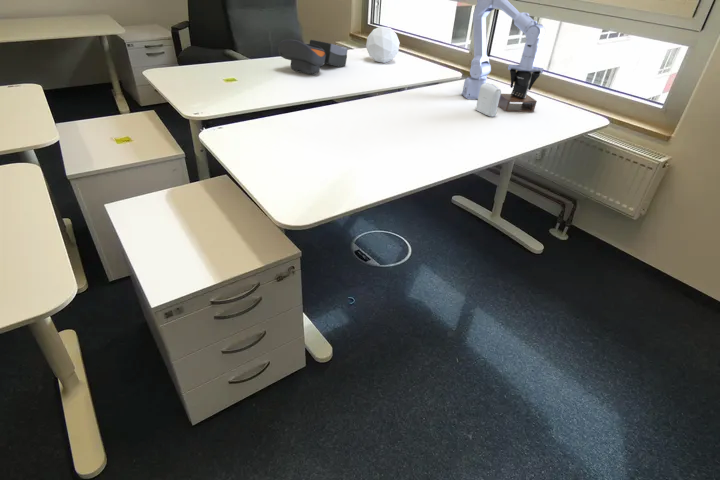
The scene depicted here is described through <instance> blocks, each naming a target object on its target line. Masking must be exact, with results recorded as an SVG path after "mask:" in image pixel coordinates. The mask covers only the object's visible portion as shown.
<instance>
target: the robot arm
mask: <svg viewBox="0 0 720 480" xmlns="http://www.w3.org/2000/svg"><path fill="white" fill-rule="evenodd" d="M496 9H499V10H501V11H502V12H504V13H505V14H506V15H507V16H508V17H510V18H511V19H512V20H513V25H514V26H515V27H517V28H518V30H520V31H521V32H522V33H523V34H524V35H525V39H526V40H525V44H524V46H523V47H524V48H523V51H522V55H521V58H520V62H519V64H511V63H509V64H508V66H507V70H508V71H509V74H510V88H511V89H513V88H514V83H515V82H514V79H515V76H516V72H517V71H528V72H531V73H532V78H531V82H530V85H529V88H528V91H531V89H532V87H533V85H534V84H535V82H536V81H537V79H538V78H540V77H541V75H543V73H544V67H537V66H534V65H535V62H536V58H537V55H538V51H539V47H540V44H541V40H542V38H543V37H544V36H545V33H546V28H545V26H544V25H543V24H542V23H538V21H537V20H534V19H533V18H532V17H531V16H530V15H531V14H530V13H529V12H524V11H523V12H520V11H519V9H517V8H516V7H515V6H514V5H513V4H512V3H511V2H510V1H509V0H476V5H475V7H474V11H473V14H472V20H473V23H472V24H473V55H474V56H473V58H472V60H471V64H470V65H471V66H470V68H469V75H470V77H466V78H465V79H464V81H463V86H462V92H461V95H462V96H463V97H464V98H465V99H467V100H478V96H479V91H480V87H481V85H482V84H484V83H487V78H488V75H489V74H490V73H491V71H492V65H491V63H490V58H489V56H488V55H487V17H488V16H489V15H490V13H491V12H492V11H493V10H496ZM540 74H541V75H540Z"/></svg>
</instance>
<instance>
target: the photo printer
mask: <svg viewBox="0 0 720 480" xmlns="http://www.w3.org/2000/svg"><path fill="white" fill-rule="evenodd" d="M501 94H502V90H501V88H500V87H499V86H497V85H496V84H494V83H490V82H486V83H484V84H482V85H481V87H480V91H479V96H478V99H477V101H476V106H475V111H477V112H479V113H481V114H483V115H486V116H487V117H491V118H492V117H493V118H494V117H496V115H497V111H498V107H499V106H498V103H499V99H500V95H501Z"/></svg>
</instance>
